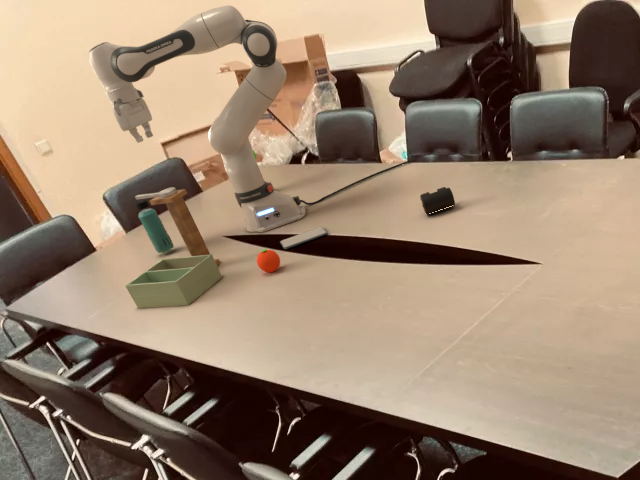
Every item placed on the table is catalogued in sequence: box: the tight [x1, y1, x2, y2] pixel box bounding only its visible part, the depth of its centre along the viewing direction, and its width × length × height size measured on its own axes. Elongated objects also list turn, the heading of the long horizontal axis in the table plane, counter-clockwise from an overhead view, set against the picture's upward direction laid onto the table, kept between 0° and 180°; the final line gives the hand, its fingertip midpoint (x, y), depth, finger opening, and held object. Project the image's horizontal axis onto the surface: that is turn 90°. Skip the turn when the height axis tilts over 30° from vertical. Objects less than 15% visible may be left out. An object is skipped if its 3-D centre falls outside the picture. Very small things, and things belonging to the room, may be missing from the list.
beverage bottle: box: [135, 199, 175, 254], centre depth 257 cm, size 6×7×20 cm
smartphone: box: [279, 226, 328, 250], centre depth 241 cm, size 8×1×15 cm
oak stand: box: [149, 188, 221, 266], centre depth 233 cm, size 9×7×26 cm
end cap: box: [419, 186, 456, 217], centre depth 233 cm, size 10×7×7 cm
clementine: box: [256, 248, 281, 273], centre depth 222 cm, size 8×7×7 cm
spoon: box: [134, 186, 177, 200], centre depth 227 cm, size 16×5×1 cm, turn 73°
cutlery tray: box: [124, 253, 223, 309], centre depth 224 cm, size 20×18×8 cm
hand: (145, 139), depth 240 cm, fingers open, 8 cm apart
